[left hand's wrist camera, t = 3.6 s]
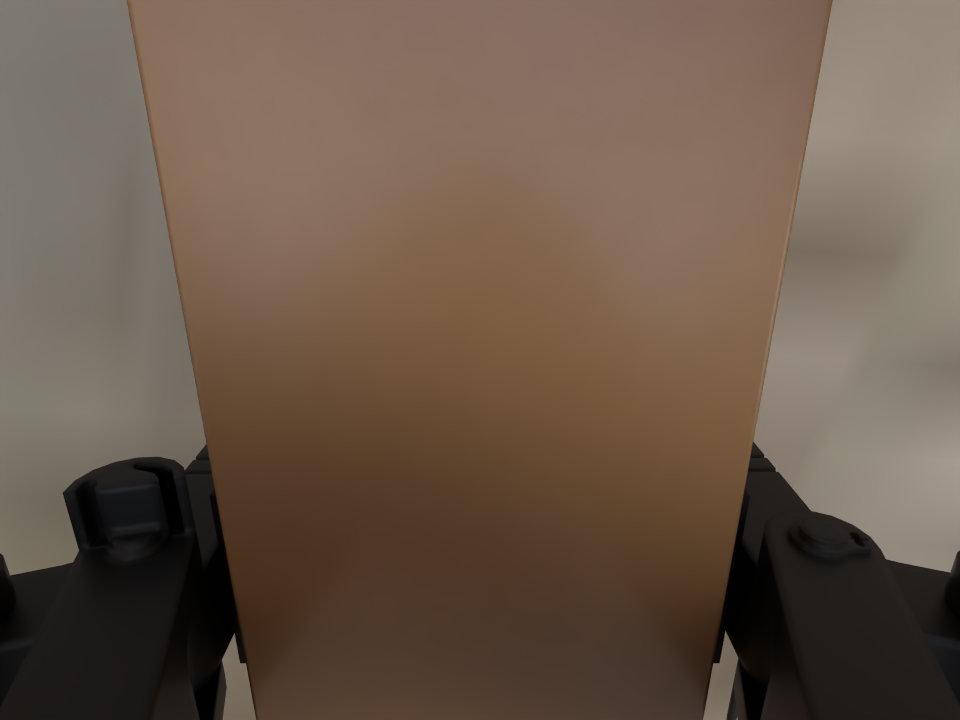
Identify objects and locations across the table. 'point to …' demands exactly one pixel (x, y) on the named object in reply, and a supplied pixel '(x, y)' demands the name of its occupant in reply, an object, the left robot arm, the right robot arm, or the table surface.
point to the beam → (479, 332)
